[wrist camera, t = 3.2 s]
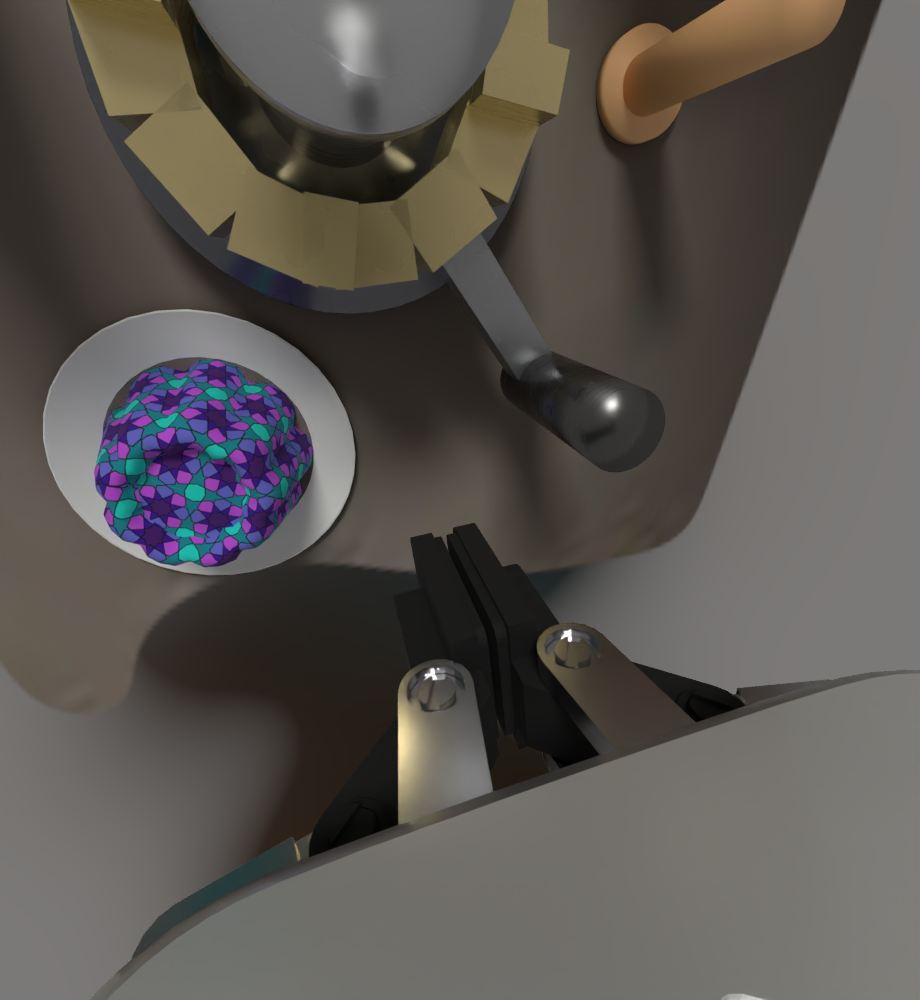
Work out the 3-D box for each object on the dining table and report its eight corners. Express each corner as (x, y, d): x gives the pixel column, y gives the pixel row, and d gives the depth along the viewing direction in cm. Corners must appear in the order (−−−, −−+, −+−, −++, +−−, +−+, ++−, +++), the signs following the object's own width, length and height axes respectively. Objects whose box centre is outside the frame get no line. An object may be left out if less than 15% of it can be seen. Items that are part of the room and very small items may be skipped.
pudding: (72, 252, 17) (-14, 251, 13) (389, 371, 22) (408, 401, 18) (35, 536, 21) (-41, 612, 17) (312, 586, 26) (312, 656, 21)
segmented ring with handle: (-3, -19, 13) (-351, -321, 6) (346, -368, 12) (387, -1177, 5) (439, 482, 22) (492, 578, 16) (651, 312, 21) (802, 338, 15)
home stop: (641, 3, 18) (840, -152, 11) (693, 85, 20) (894, -5, 13) (578, 93, 19) (729, 0, 12) (633, 166, 21) (793, 120, 14)
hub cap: (241, -397, 12) (19, -2351, 3) (588, 78, 19) (856, -95, 10) (12, 114, 15) (-461, -107, 6) (381, 376, 22) (431, 466, 12)
